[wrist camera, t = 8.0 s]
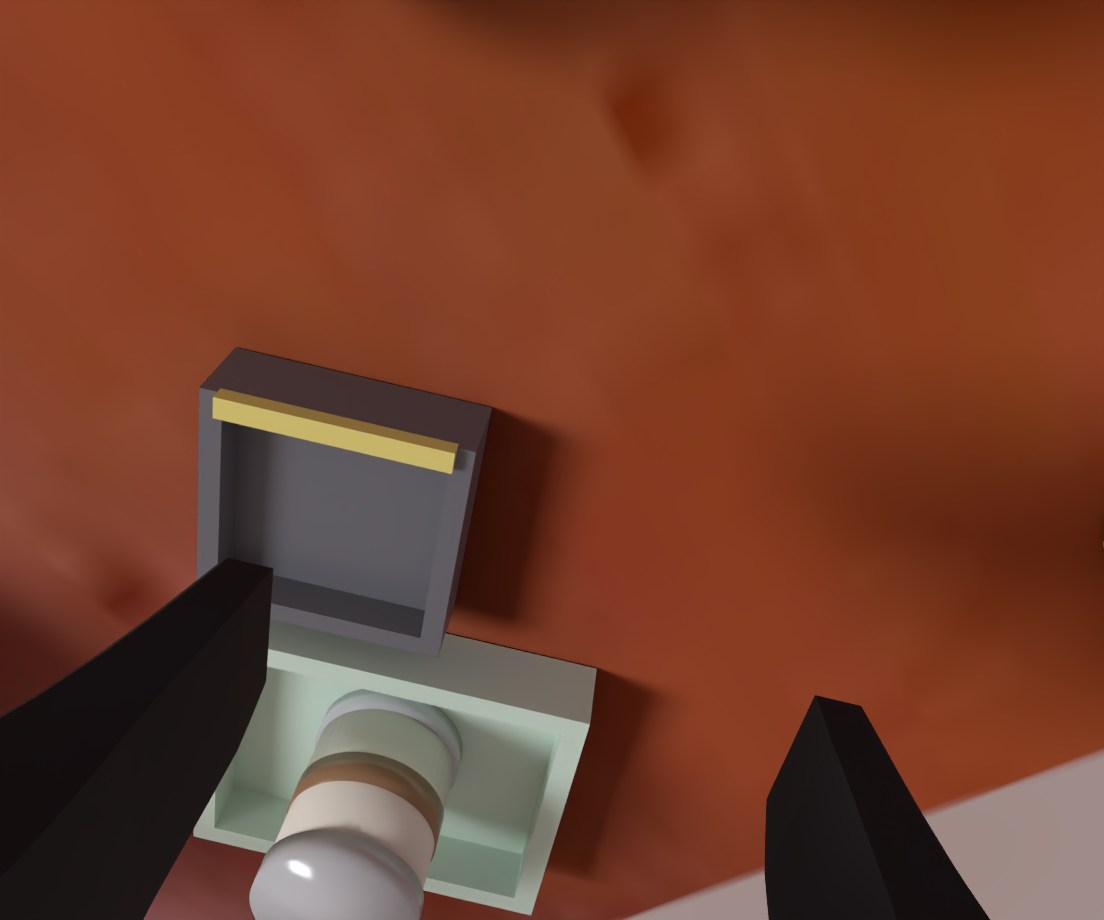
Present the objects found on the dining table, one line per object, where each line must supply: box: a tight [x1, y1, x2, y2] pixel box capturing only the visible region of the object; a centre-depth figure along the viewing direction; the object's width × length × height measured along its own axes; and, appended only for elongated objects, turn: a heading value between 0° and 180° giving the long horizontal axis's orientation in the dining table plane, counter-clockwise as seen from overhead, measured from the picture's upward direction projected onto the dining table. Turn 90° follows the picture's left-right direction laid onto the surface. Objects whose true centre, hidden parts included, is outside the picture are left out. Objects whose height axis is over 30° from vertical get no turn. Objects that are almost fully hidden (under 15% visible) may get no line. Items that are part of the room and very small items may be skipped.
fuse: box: [249, 689, 463, 920], centre depth 26 cm, size 4×4×6 cm
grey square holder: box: [197, 348, 492, 658], centre depth 24 cm, size 6×6×2 cm
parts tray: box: [194, 619, 597, 915], centre depth 28 cm, size 10×8×2 cm
